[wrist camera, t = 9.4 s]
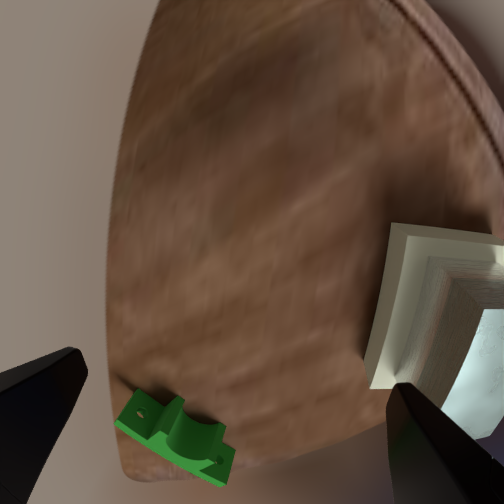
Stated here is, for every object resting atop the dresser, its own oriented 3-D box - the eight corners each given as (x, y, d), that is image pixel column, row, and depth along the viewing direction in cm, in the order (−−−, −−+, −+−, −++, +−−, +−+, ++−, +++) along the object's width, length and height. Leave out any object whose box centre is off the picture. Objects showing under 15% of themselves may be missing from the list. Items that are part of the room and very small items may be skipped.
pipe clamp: (252, 438, 24) (244, 477, 20) (229, 451, 26) (220, 487, 21) (149, 373, 23) (127, 409, 19) (133, 391, 25) (112, 424, 20)
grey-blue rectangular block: (394, 376, 16) (416, 449, 11) (428, 255, 14) (484, 309, 8) (457, 373, 16) (489, 435, 10) (496, 261, 13) (557, 307, 8)
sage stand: (391, 222, 17) (407, 235, 14) (492, 234, 16) (516, 247, 13) (363, 361, 20) (369, 388, 17) (455, 358, 19) (469, 382, 16)
